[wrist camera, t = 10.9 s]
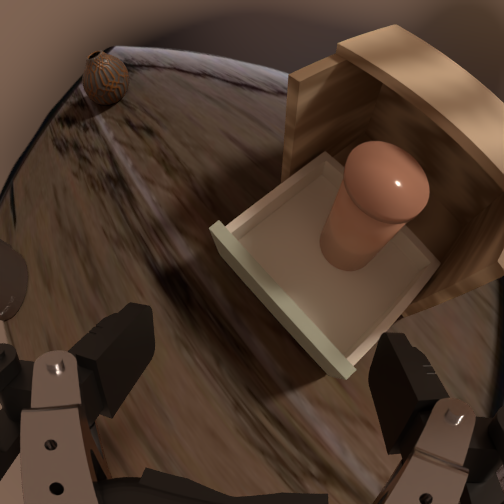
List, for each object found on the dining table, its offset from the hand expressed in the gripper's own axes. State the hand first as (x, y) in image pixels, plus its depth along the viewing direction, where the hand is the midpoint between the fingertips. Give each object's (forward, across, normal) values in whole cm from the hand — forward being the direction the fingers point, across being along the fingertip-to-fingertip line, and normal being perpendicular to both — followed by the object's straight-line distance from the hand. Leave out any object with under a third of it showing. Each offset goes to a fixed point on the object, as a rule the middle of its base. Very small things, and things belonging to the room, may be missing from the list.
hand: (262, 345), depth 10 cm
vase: (+32, +27, -16) cm, 45 cm away
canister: (+18, -6, 0) cm, 19 cm away
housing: (+23, -11, -2) cm, 26 cm away
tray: (+19, -5, +3) cm, 19 cm away
